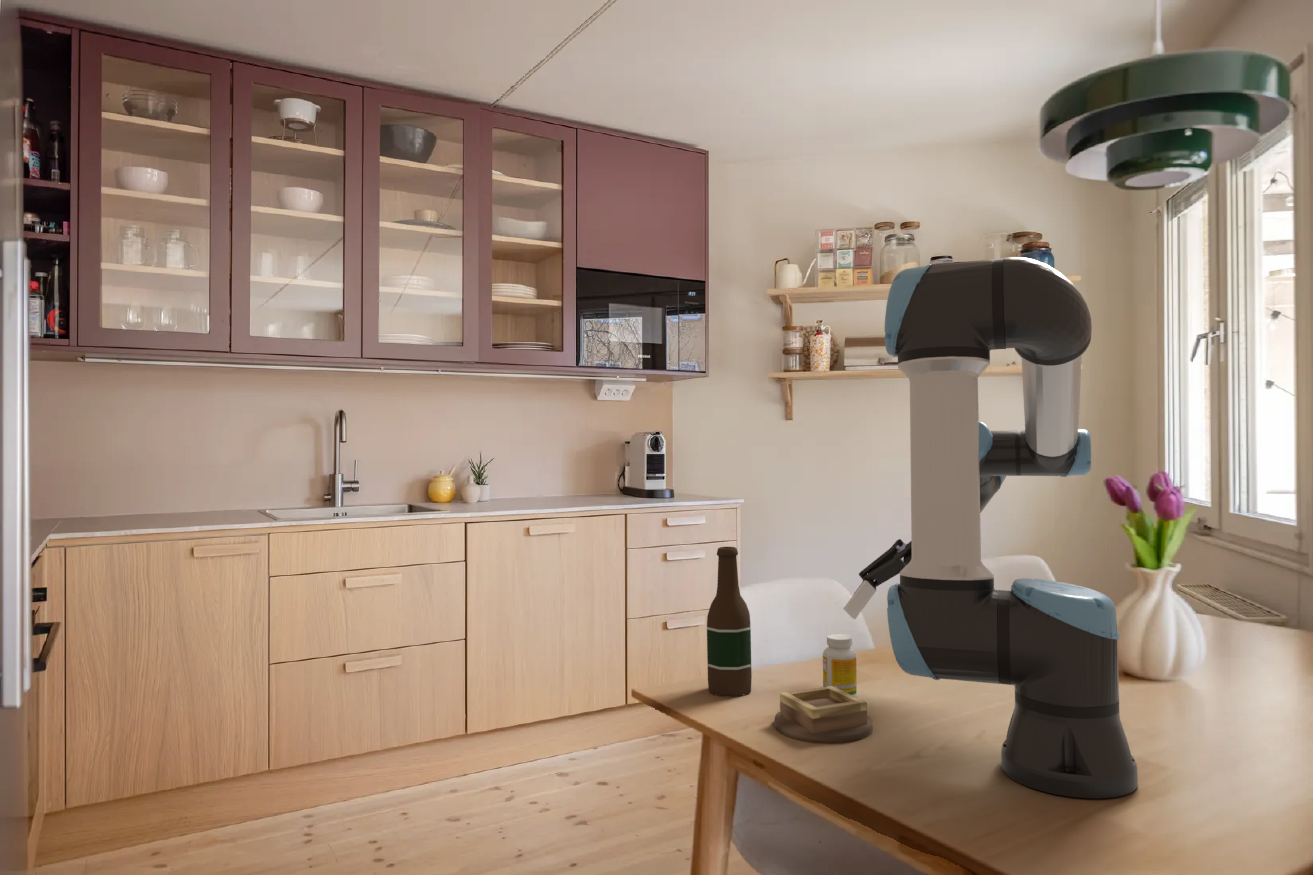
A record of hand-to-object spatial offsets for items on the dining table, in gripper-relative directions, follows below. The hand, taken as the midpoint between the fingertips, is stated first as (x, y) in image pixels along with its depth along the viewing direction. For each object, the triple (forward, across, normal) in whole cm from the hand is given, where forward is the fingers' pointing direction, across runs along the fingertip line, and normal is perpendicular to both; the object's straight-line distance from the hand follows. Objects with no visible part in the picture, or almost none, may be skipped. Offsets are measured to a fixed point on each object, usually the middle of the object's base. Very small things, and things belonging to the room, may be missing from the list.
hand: (872, 621), depth 144 cm
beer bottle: (+24, +9, +8) cm, 27 cm away
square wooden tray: (+21, -13, +5) cm, 25 cm away
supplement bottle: (+13, -1, -3) cm, 14 cm away
